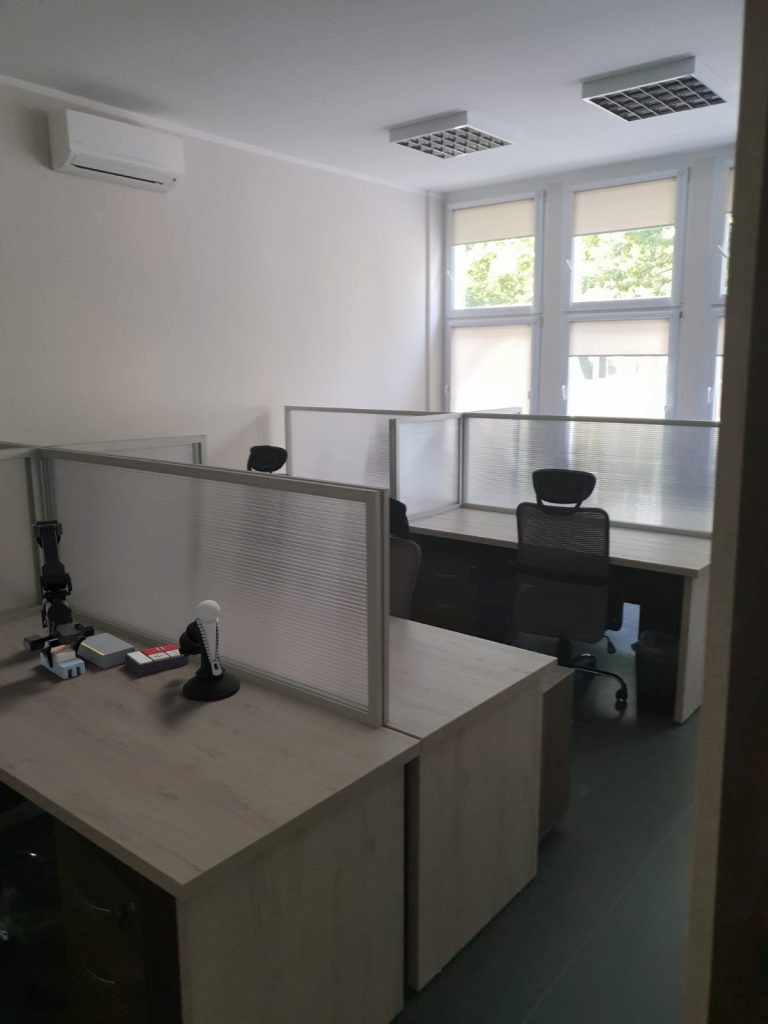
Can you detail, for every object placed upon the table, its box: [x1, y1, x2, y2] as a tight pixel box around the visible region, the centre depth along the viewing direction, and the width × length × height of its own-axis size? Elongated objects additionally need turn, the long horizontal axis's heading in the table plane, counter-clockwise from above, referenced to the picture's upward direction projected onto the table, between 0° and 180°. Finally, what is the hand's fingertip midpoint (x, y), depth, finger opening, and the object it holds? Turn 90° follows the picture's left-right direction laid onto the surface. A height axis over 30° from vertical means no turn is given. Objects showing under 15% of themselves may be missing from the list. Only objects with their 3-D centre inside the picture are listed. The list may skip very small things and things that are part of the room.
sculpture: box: [178, 599, 241, 702], centre depth 211 cm, size 15×24×25 cm, turn 38°
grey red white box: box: [124, 643, 190, 677], centre depth 228 cm, size 11×4×15 cm
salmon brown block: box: [51, 645, 70, 659], centre depth 227 cm, size 4×5×2 cm
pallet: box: [39, 652, 86, 680], centre depth 226 cm, size 16×6×4 cm, turn 45°
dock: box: [77, 632, 136, 670], centre depth 235 cm, size 18×10×4 cm, turn 45°
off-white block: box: [52, 647, 77, 663], centre depth 224 cm, size 4×5×2 cm
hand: (62, 664), depth 226 cm, fingers closed on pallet, 6 cm apart
